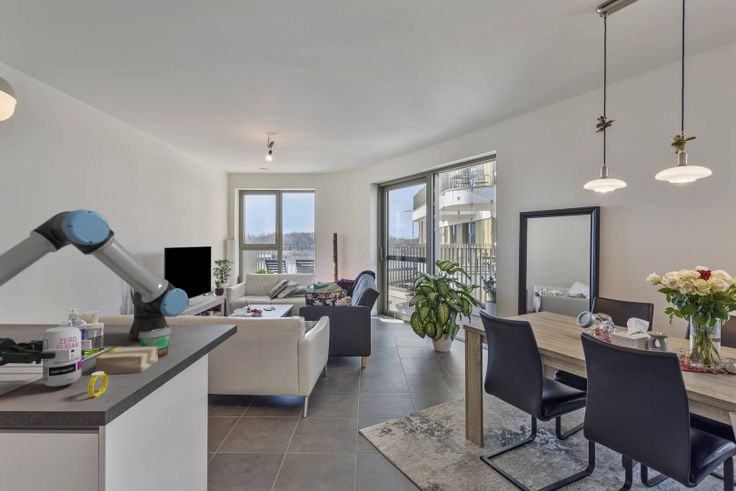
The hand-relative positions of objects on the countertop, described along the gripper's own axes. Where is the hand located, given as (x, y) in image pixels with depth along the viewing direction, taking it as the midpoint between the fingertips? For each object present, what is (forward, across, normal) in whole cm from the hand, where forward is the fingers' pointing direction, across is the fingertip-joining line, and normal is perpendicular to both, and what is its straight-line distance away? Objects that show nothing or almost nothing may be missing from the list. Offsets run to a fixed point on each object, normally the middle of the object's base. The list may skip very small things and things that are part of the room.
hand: (80, 349), depth 102 cm
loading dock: (+5, -15, -11) cm, 19 cm away
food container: (+10, -26, -11) cm, 30 cm away
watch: (+8, +7, -11) cm, 15 cm away
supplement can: (-5, 0, -9) cm, 10 cm away
